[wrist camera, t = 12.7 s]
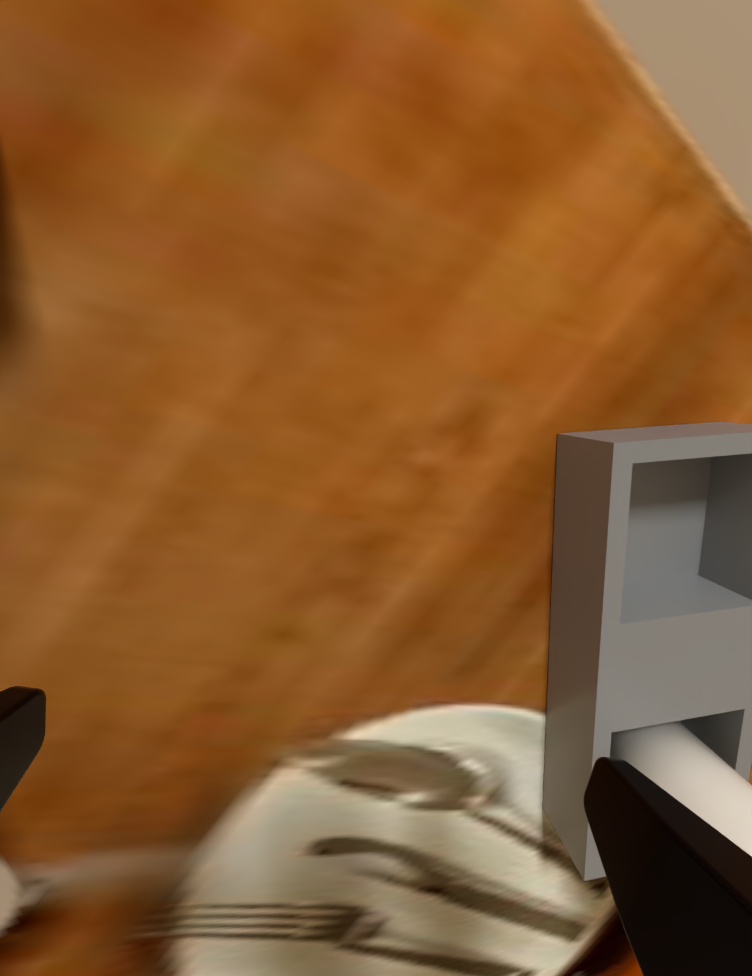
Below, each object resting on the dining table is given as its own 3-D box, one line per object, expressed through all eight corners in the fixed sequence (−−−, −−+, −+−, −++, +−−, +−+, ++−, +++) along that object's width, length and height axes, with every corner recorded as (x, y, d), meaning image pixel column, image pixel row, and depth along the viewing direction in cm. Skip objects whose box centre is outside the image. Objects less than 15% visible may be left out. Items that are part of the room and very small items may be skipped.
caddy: (542, 808, 23) (584, 881, 20) (557, 433, 19) (613, 443, 15) (676, 781, 24) (737, 846, 21) (719, 421, 20) (806, 428, 17)
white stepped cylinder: (597, 790, 23) (925, 1236, 11) (569, 724, 22) (904, 1143, 10) (675, 747, 23) (1082, 1133, 11) (652, 678, 22) (1083, 1031, 10)
